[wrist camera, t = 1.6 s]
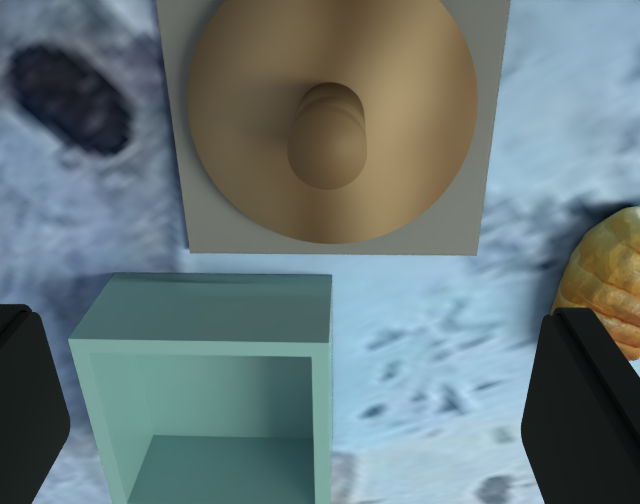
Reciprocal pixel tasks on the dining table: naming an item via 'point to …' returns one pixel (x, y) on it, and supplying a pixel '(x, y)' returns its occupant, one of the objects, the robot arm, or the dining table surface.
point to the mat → (411, 239)
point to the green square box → (210, 387)
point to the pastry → (608, 278)
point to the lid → (332, 112)
